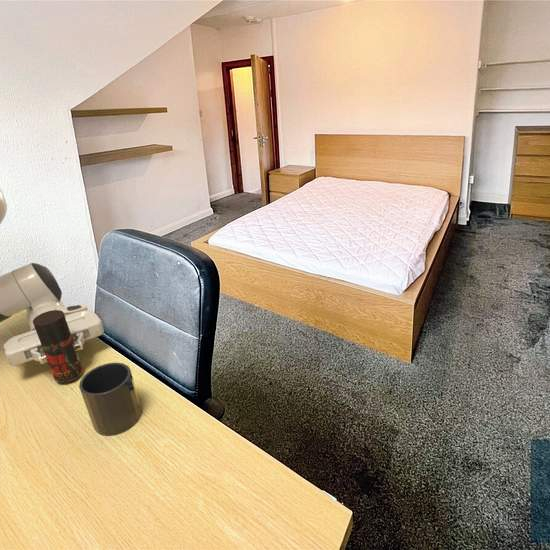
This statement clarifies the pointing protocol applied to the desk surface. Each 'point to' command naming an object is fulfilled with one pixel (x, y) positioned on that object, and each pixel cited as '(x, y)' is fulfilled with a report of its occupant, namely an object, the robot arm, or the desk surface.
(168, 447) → the desk surface
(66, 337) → the deodorant
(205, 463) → the desk surface
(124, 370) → the pen pot
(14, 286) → the robot arm
